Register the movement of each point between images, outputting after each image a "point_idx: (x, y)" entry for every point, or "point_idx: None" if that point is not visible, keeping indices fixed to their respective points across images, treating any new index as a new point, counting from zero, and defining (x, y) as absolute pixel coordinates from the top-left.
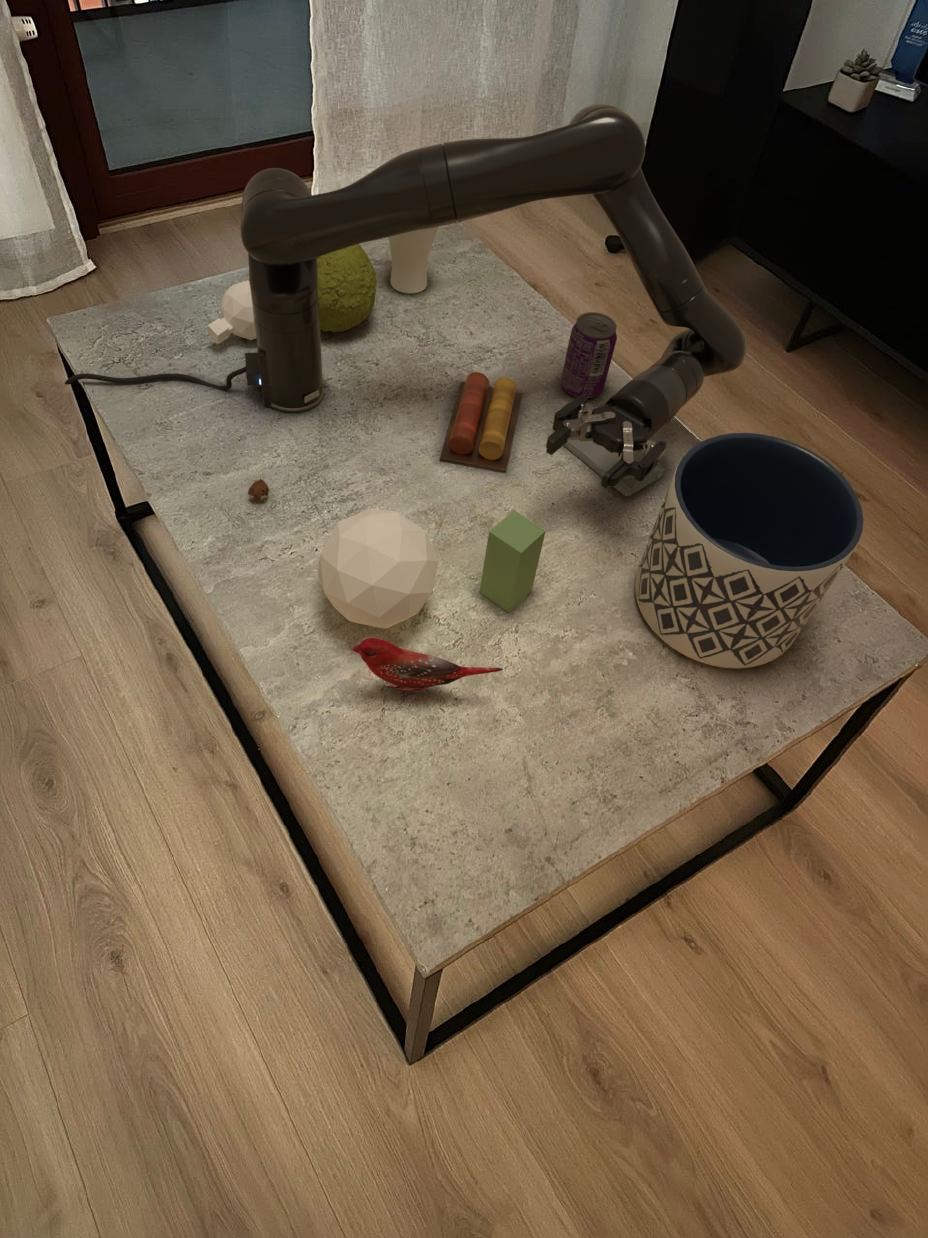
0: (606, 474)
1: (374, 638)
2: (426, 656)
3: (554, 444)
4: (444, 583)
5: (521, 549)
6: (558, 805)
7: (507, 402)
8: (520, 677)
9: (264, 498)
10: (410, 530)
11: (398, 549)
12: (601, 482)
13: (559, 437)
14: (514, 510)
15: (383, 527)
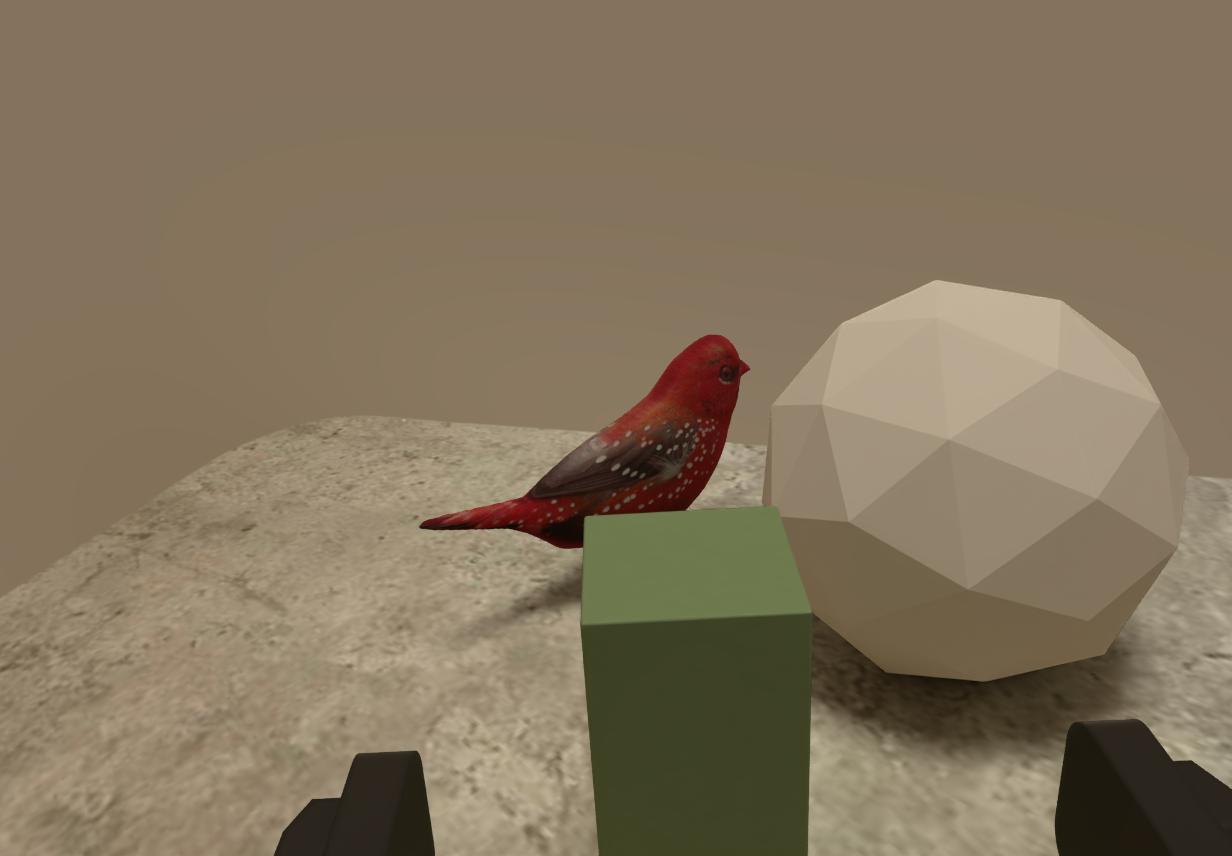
0: (393, 753)
1: (712, 341)
2: (609, 437)
3: (1085, 768)
4: (900, 803)
5: (596, 522)
6: (155, 594)
7: None
8: (412, 731)
9: None
10: (942, 362)
11: (877, 318)
12: (430, 822)
13: (1135, 794)
14: (807, 612)
15: (980, 303)
